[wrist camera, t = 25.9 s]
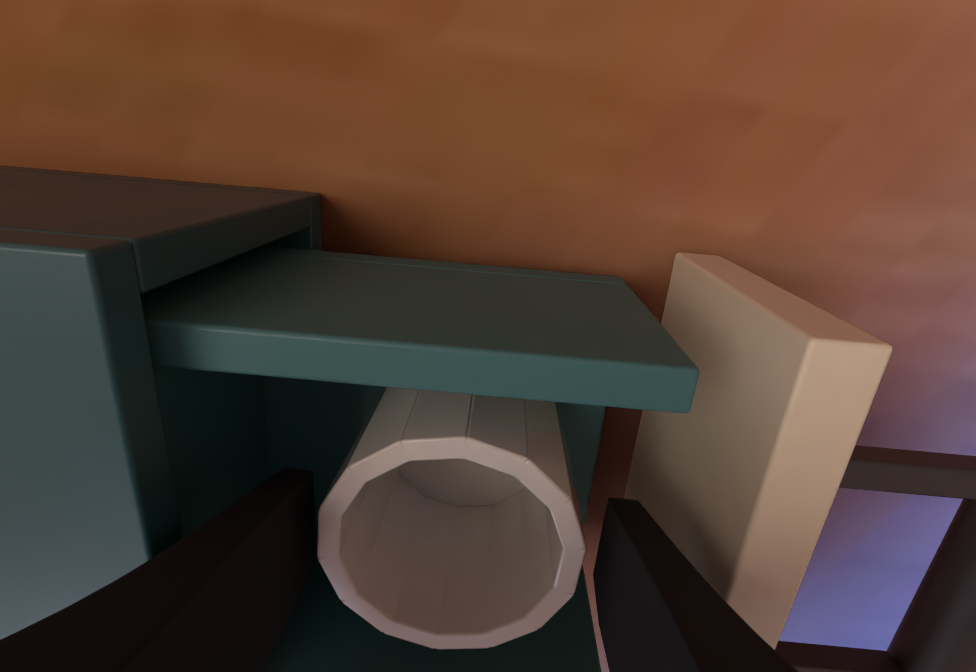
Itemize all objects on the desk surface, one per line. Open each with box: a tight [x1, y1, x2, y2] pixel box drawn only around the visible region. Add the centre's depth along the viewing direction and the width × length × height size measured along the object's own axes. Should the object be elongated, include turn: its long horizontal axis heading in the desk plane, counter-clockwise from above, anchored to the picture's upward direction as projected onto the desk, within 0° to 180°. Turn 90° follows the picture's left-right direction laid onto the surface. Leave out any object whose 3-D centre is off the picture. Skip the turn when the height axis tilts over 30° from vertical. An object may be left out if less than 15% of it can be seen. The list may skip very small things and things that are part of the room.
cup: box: [317, 387, 586, 649], centre depth 12 cm, size 5×5×4 cm
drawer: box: [140, 246, 976, 672], centre depth 12 cm, size 17×10×6 cm, turn 85°
